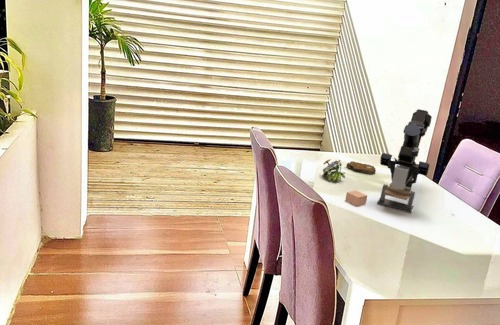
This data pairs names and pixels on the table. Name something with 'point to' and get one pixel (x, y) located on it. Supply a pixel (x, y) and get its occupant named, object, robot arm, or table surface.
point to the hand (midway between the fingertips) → (398, 181)
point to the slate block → (400, 177)
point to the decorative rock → (361, 167)
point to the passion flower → (334, 167)
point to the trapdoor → (397, 192)
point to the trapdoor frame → (395, 204)
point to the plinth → (356, 198)
